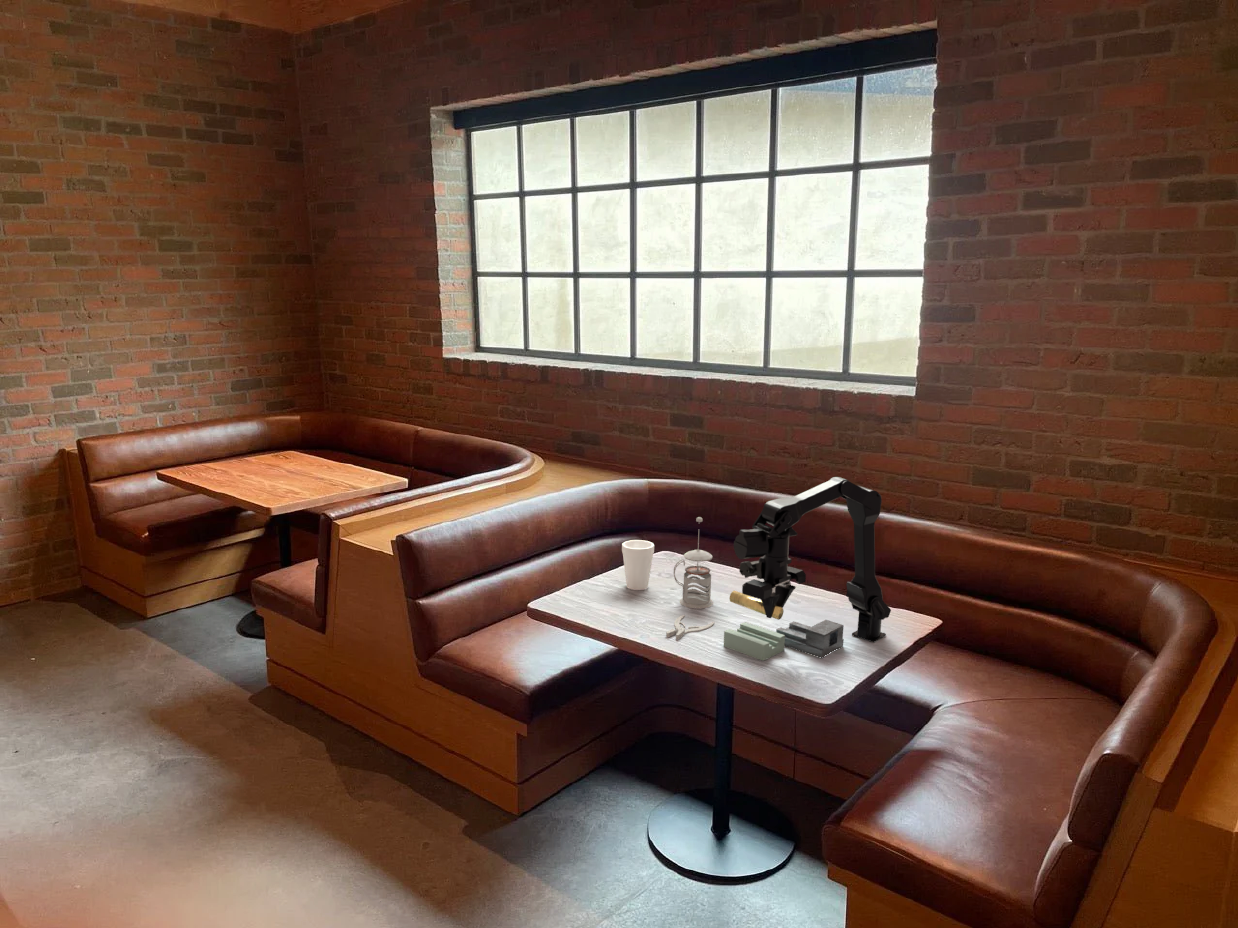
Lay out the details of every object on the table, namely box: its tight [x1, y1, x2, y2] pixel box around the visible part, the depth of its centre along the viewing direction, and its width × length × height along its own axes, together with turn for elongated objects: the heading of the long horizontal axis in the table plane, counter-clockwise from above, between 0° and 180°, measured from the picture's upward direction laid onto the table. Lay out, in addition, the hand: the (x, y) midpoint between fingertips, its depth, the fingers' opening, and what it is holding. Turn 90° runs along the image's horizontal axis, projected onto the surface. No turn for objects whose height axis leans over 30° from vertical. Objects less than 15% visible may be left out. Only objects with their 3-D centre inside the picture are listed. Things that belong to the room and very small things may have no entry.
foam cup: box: [621, 539, 655, 591], centre depth 259 cm, size 10×9×13 cm
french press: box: [673, 516, 715, 610], centre depth 245 cm, size 10×12×25 cm
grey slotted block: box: [775, 619, 845, 659], centre depth 219 cm, size 10×14×6 cm
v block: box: [723, 621, 785, 662], centre depth 216 cm, size 9×12×4 cm
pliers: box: [665, 614, 715, 641], centre depth 228 cm, size 10×2×15 cm
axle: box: [729, 590, 784, 620], centre depth 214 cm, size 3×14×3 cm, turn 46°
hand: (772, 615), depth 211 cm, fingers closed on axle, 3 cm apart
